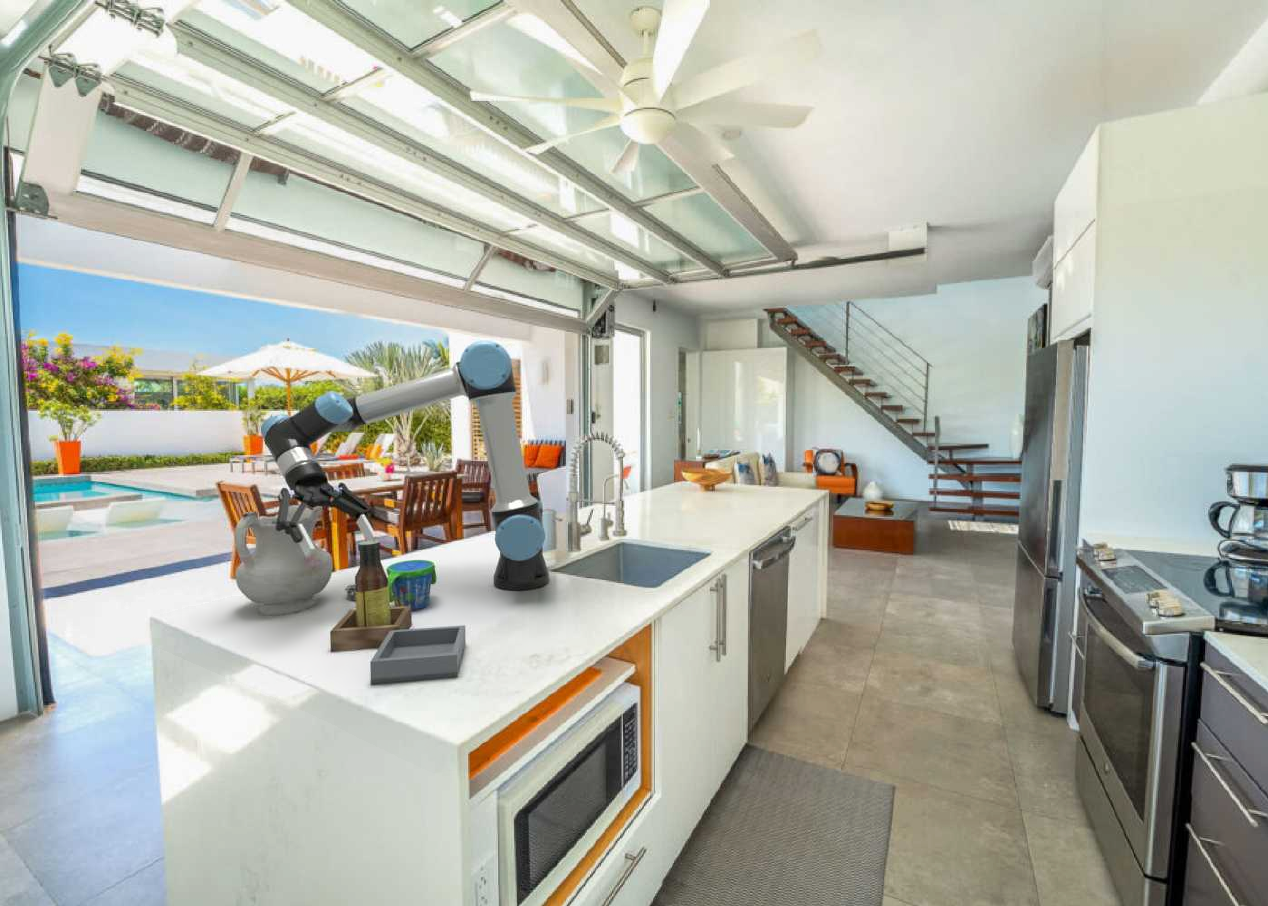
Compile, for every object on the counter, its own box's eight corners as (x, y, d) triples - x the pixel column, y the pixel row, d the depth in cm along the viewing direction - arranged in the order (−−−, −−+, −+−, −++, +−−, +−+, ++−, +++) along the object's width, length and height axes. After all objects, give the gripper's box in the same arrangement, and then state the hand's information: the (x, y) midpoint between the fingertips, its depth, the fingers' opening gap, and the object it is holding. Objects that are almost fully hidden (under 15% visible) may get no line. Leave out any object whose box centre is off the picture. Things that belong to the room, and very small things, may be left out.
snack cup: (401, 620, 120) (400, 576, 120) (368, 613, 125) (367, 570, 124) (451, 600, 134) (451, 560, 134) (420, 594, 139) (419, 555, 138)
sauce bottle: (397, 631, 114) (395, 539, 113) (380, 643, 108) (378, 545, 107) (367, 630, 114) (365, 538, 113) (349, 642, 108) (347, 544, 107)
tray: (465, 644, 107) (465, 625, 107) (457, 677, 93) (457, 654, 93) (390, 650, 104) (390, 630, 104) (370, 685, 91) (370, 661, 90)
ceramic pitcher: (293, 630, 117) (299, 517, 116) (203, 623, 117) (208, 510, 116) (345, 599, 139) (351, 503, 137) (270, 593, 138) (275, 497, 137)
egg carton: (358, 605, 132) (357, 589, 131) (342, 599, 136) (342, 583, 135) (397, 593, 140) (397, 578, 140) (381, 588, 144) (381, 574, 144)
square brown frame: (411, 623, 118) (411, 605, 118) (399, 646, 106) (398, 626, 106) (350, 627, 116) (350, 609, 116) (330, 651, 104) (330, 631, 104)
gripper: (349, 478, 133) (388, 546, 126) (234, 488, 112) (273, 570, 105) (362, 458, 130) (402, 526, 123) (245, 464, 109) (287, 546, 102)
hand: (343, 546), depth 114 cm, fingers open, 13 cm apart
